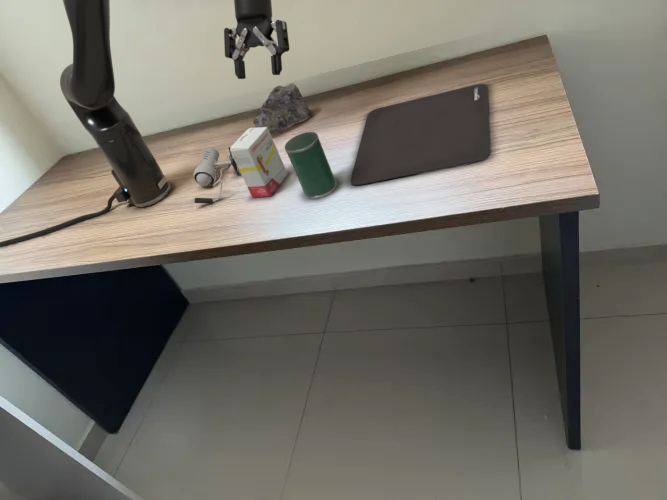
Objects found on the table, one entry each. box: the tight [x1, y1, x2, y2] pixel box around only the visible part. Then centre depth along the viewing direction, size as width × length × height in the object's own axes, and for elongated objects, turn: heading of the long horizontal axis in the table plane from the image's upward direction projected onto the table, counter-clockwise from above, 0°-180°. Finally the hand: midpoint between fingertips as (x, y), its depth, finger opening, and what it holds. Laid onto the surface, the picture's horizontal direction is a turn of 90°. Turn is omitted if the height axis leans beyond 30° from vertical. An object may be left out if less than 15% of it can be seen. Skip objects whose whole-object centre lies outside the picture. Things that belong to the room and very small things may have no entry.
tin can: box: [284, 131, 338, 200], centre depth 123 cm, size 7×7×11 cm
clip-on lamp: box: [190, 146, 241, 205], centre depth 142 cm, size 12×6×18 cm
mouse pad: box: [349, 83, 491, 186], centre depth 130 cm, size 32×27×1 cm
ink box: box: [229, 127, 289, 199], centre depth 131 cm, size 9×5×12 cm, turn 156°
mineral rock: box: [252, 82, 311, 135], centre depth 154 cm, size 13×11×10 cm
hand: (258, 76), depth 133 cm, fingers open, 8 cm apart
